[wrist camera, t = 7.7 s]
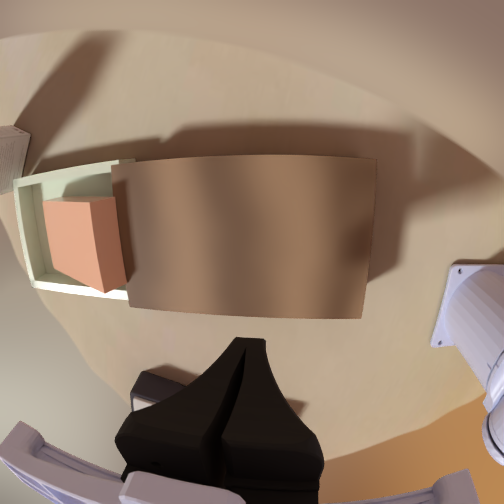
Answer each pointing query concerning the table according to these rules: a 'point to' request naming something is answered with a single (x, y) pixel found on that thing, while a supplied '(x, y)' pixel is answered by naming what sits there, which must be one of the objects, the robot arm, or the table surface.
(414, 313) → the table surface
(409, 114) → the table surface
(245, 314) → the brown wooden block
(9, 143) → the skincare box
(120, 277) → the tile
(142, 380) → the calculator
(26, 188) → the tray
